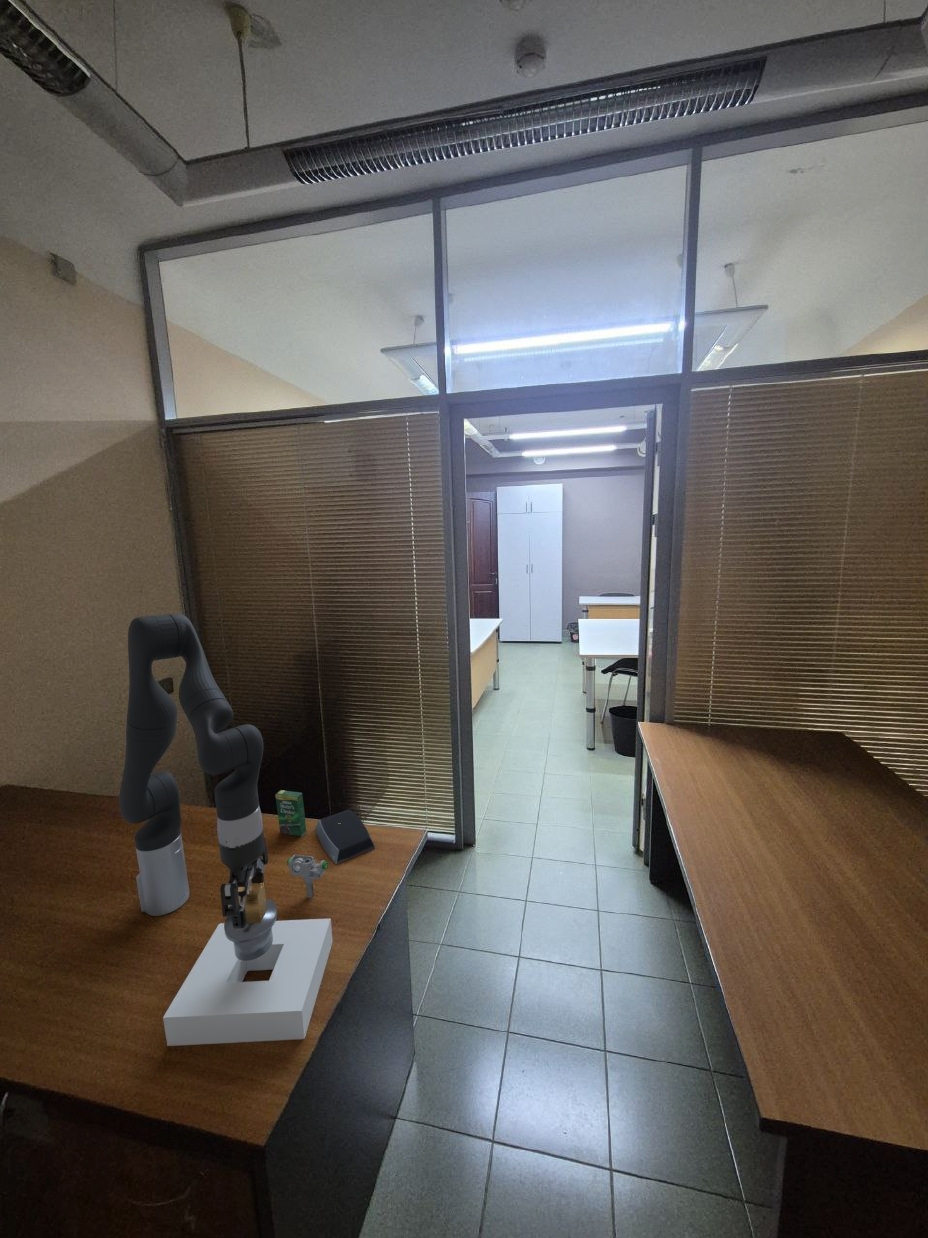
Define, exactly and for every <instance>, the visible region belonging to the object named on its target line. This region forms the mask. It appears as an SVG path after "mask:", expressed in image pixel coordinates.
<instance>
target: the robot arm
mask: <svg viewBox="0 0 928 1238" xmlns="http://www.w3.org/2000/svg"><path fill="white" fill-rule="evenodd" d="M127 632H128V633H127V652H128V653H127V655H128V656H127V658H128V677H129V682H128V683H129V686H128V687H129V688H128V702H127V712H126V713H127V714H126V731H125V757H124V766H123V767H124V768H123V771H122V772H123V773H122V777H121V782H120V788H119V794H118V795H119V798H118V801H119V802H118V805H119V809H120V813H121V816H122V818H123V819H124V821H126V822H127V823H129V824H133V825H134V824H135V825H136V824H140V823H143V822H145V821H146V822H145V823H144V824H142V826H141V827H139V829H138V830H137V831H136V833H135V834H134V838H133V839H134V846H135V851H136V858H137V864H138V869H139V870H138V871H139V873H138V874H137V875H136V876H135V877H136V878H135V881H136V886H137V891H138V897H139V903H140V908H141V909H140V910H141V912H142V913H146V914H147V915H149V916H151V917H159V916H164V915H167V914H170V913H172V912H174V911H176V910H178V909H179V908H181V907H182V906H183V905H185V903H186V902H187V901H188V900H189V898H190V887H189V880H188V873H187V872H188V871H187V866H186V865H187V864H186V858H185V852H184V844H183V838H182V837H183V836H182V831H181V826H182V813H181V798H180V797H181V796H180V789H179V785H178V782H177V780H176V777H175V776H174V775H173V774H172V773H171V772H169V771H167V770H161V771H157V772H154V771H153V770H154V769H155V767H156V766H157V764H158V763H159V762H160V760H161V758H162V757H163V756H164V754H166V752H167V750H169V749H168V748H169V747H170V745H171V744H172V742H173V741H174V739H175V736H176V732H177V723H178V722H177V721H178V706H177V704H176V702H175V701H174V700H173V698H172V697H171V695H170V694H169V693H168V692H167V690H165V689H164V688H163V686H161V684H159V682H158V681H157V680H156V678H155V676H154V673H153V669H152V668H153V667H152V666H153V663H154V661H160V660H168V659H175V658H180V657H181V658H182V659H183V660H184V661H185V669H184V672H183V675H182V677H181V680H180V684H179V687H178V700H179V704H180V706H181V709H182V711H183V712H184V714H185V716H186V717H187V719H188V721H189V723H190V726H191V727H192V729H193V734H194V736H195V737H194V738H195V742H196V750H197V751H196V752H197V753H196V754H197V759H198V765H199V766H200V769H201V770H202V771H203V772H205V773H206V774H208V775H211V776H219V775H222V774H225V773H227V772H230V771H233V770H234V771H233V772H232V773H230V774H229V775H228V776H227V777H225V778H223V779H222V780H220V781H219V782H218V783H217V784H216V786H215V789H214V793H213V794H214V801H215V808H216V809H215V810H216V821H217V822H216V831H217V839H218V847H219V854H220V855H219V856H220V861H221V864H223V865H224V866H226V867H227V868H228V869H229V876H228V878H229V880H228V881H227V883H221V885H220V890H219V891H220V901H221V912H222V917H223V918H227V917H228V916H232V924H233V928H244V927H245V926H246V924H247V921H246V913H245V907H244V906H245V899H246V896H247V895H248V894H249V891H250V885H251V883H264V887H265V886H266V884H265V876H264V874H265V871H266V865H268V863H269V855H268V849H267V841H266V838H265V833H264V826H263V825H264V824H263V816H262V815H263V814H262V811H261V808H260V801H259V791H258V790H259V789H258V781H259V776H260V769H261V764H262V761H263V760H262V759H263V755H264V746H265V745H264V739H263V736H262V732H261V731H260V730H259V729H258V728H257V727H256V726H255V725H252V724H249V723H248V724H247V723H246V724H242V725H238V726H235V727H232V728H229V729H225V728H226V727H227V726H228V725H230V724H231V722H232V720H233V718H234V710H233V709H232V706H231V705H230V703H229V701H228V700H227V698H226V697H225V695H224V694H223V691H222V690H221V688H220V687H219V686H218V684H217V682H216V680H215V678H214V676H213V674H212V671H211V668H210V666H209V662H208V659H207V657H206V654H205V651H204V648H203V646H202V644H201V641H200V639H199V636H198V634H197V630H196V629H195V627H194V625H193V623H192V622H191V620H190V619H189V618H188V617H187V616H185V615H184V614H182V613H181V614H180V613H172V614H171V613H170V614H169V613H168V614H157V615H155V614H153V615H146V616H138V617H135V618H133V619H132V620H131V621H130V624H129V626H128V630H127ZM223 729H225V730H223ZM222 730H223V731H222ZM152 772H154V773H152ZM238 887H245V889H244V890H243V891H238V890H239V888H238ZM265 888H266V887H265ZM239 896H240V897H241V899H240V904H239Z"/></svg>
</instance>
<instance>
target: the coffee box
mask: <svg viewBox="0 0 928 1238" xmlns="http://www.w3.org/2000/svg"><path fill="white" fill-rule="evenodd" d="M275 803H276V810H277V818H278V825H279V826H278V827H279V833H280V834H283V835H284V834H285V835H290V836H296V837H303V836H304V835H306V833H307V827H306V826H307V824H306V817H305V815H306V814H305V807H304V798H303V793H302V792H298V791H290V790H284V789H283V790H282V789H280V790H278V791H277V793H275Z"/></svg>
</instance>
